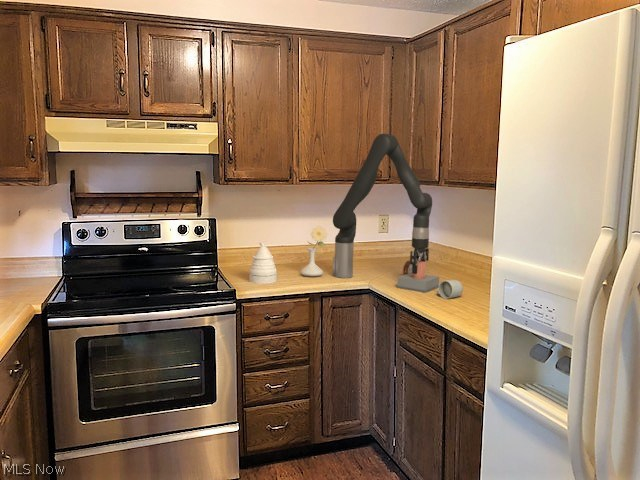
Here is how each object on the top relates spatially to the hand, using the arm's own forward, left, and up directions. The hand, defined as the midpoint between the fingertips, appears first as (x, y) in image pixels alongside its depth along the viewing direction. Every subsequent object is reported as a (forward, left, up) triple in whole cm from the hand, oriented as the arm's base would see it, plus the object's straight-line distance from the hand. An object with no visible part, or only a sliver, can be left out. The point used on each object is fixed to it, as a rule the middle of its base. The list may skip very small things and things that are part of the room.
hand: (418, 272), depth 244 cm
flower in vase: (-52, -11, -7) cm, 54 cm away
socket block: (0, 0, -7) cm, 7 cm away
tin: (-14, +22, -8) cm, 27 cm away
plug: (0, 0, -6) cm, 6 cm away
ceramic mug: (+18, -7, -8) cm, 20 cm away
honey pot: (-63, -36, -8) cm, 73 cm away
